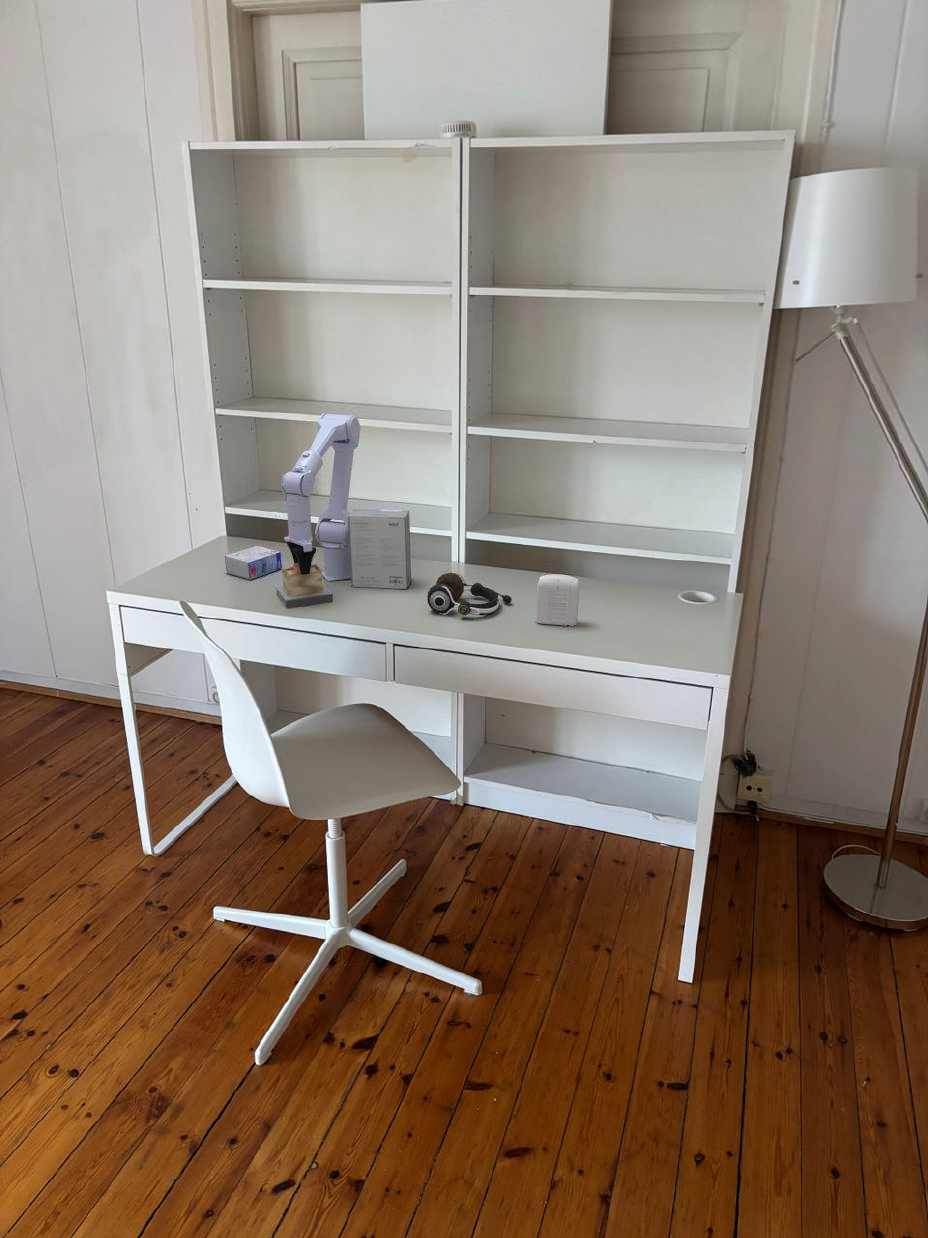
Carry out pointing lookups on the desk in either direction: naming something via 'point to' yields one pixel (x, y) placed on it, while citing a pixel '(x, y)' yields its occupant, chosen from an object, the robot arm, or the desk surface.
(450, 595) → the headset
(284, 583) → the tan mottled box
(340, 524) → the robot arm
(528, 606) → the desk surface
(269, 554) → the ink cartridge box
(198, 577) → the desk surface
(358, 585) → the hard drive box
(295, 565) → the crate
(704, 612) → the desk surface
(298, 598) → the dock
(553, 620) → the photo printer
